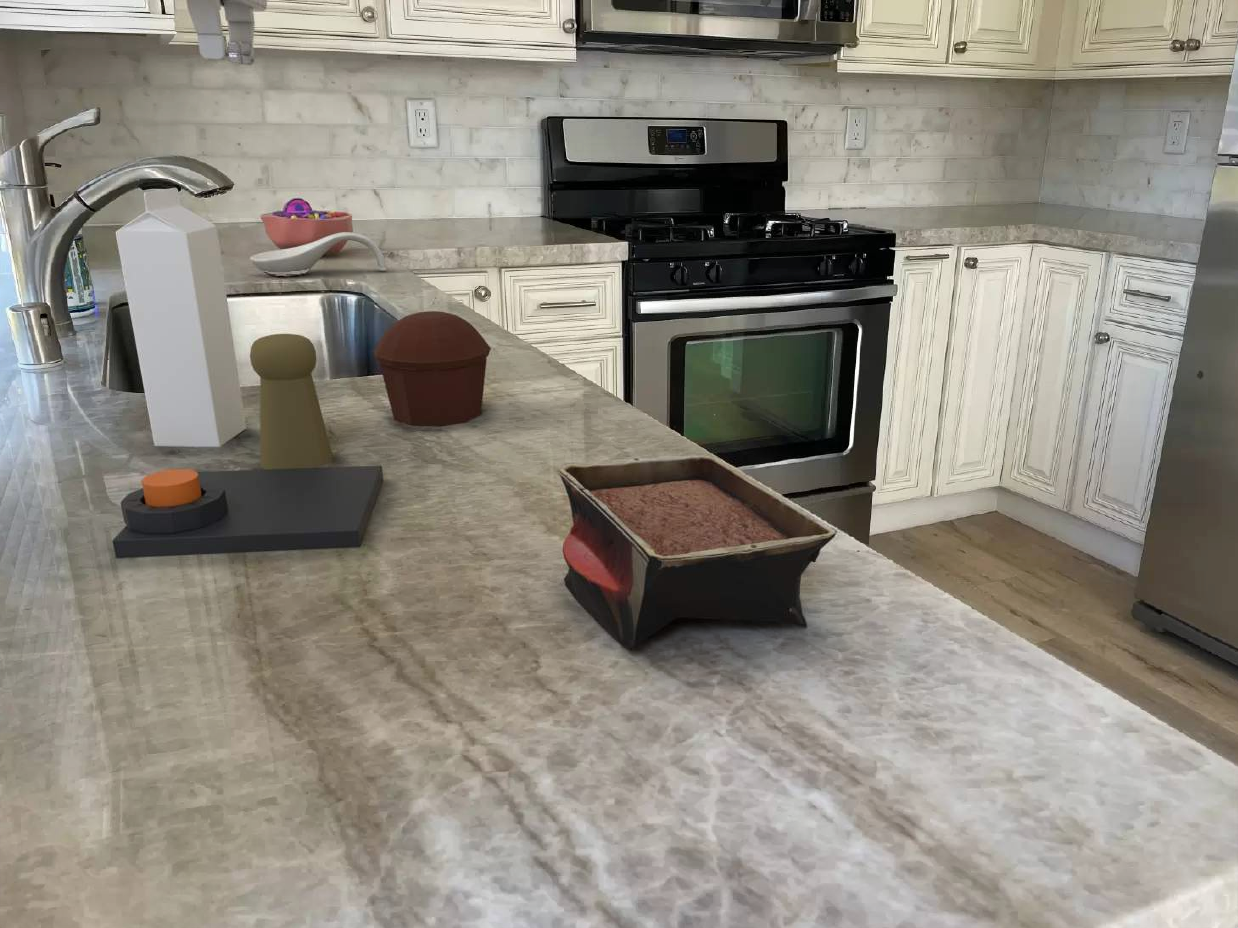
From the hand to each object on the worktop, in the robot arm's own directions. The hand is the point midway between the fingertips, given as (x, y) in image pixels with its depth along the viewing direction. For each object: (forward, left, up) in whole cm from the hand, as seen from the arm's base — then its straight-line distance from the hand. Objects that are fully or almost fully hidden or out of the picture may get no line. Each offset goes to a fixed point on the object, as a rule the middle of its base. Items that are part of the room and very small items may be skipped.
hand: (229, 62), depth 85 cm
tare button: (-2, -26, -29) cm, 39 cm away
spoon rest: (-14, +103, -32) cm, 109 cm away
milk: (-7, -1, -32) cm, 33 cm away
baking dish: (+32, -40, -32) cm, 61 cm away
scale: (+3, -22, -32) cm, 39 cm away
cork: (+3, -9, -32) cm, 34 cm away
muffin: (+14, +5, -32) cm, 36 cm away
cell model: (-20, +129, -32) cm, 134 cm away
